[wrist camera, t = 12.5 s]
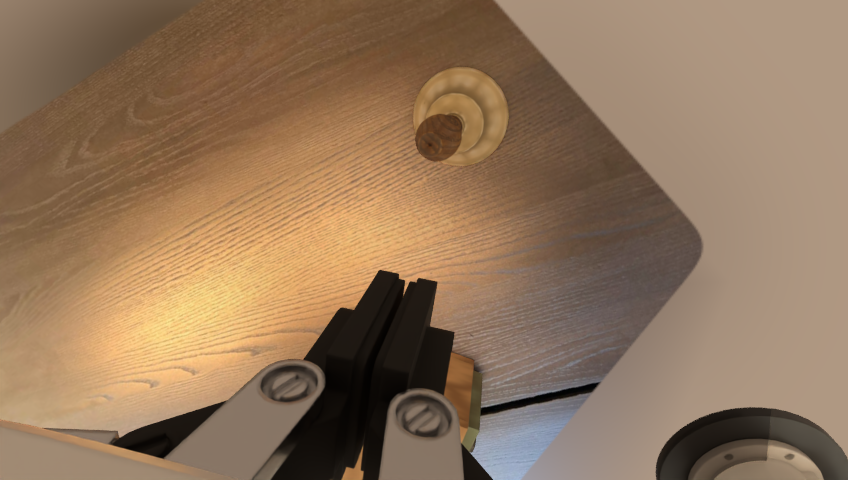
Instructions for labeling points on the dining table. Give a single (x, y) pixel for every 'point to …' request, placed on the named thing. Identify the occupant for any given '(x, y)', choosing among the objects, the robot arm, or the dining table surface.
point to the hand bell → (460, 117)
